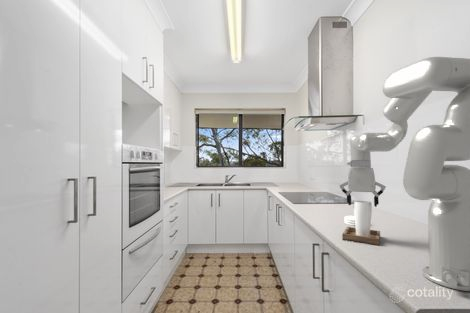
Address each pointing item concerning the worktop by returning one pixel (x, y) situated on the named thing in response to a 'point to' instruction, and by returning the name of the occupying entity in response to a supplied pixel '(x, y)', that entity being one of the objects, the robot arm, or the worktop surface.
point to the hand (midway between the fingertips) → (362, 205)
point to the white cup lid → (350, 220)
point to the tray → (351, 236)
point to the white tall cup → (362, 217)
